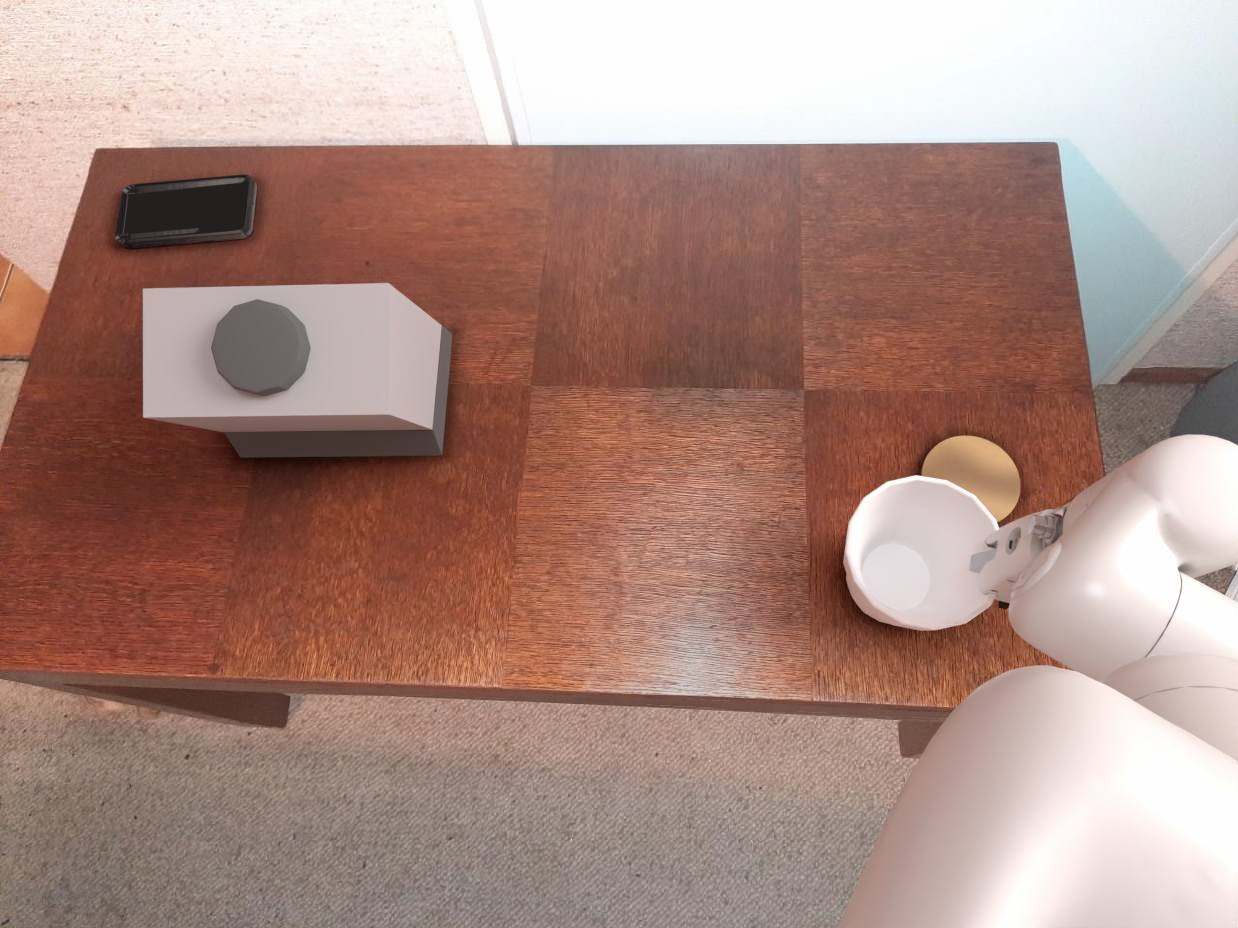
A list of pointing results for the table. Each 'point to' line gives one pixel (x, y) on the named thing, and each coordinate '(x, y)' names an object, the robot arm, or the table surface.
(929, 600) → the cup
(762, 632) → the table surface
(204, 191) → the phone
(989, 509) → the coaster
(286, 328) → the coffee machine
